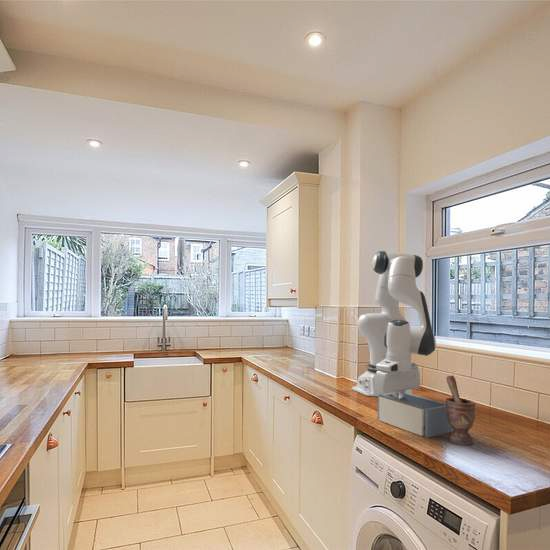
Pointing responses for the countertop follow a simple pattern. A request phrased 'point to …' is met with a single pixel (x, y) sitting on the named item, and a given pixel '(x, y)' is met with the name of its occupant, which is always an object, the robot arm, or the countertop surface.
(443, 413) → the crate
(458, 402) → the mortar and pestle
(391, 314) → the robot arm
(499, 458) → the countertop surface
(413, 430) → the white rectangular panel
